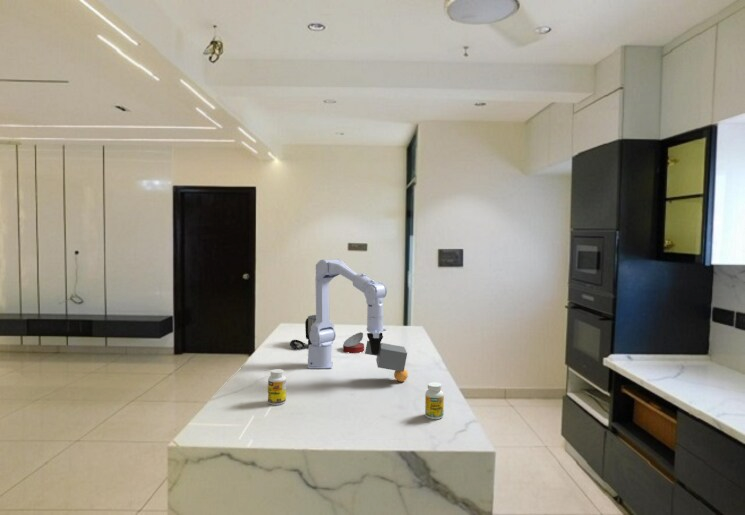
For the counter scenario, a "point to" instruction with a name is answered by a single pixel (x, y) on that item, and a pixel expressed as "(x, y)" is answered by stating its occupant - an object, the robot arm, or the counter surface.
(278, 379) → the supplement bottle
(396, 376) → the ball
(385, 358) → the grey blocky piece
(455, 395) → the counter surface
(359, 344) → the canned food
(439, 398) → the supplement bottle
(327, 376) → the counter surface
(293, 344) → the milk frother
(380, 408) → the counter surface
